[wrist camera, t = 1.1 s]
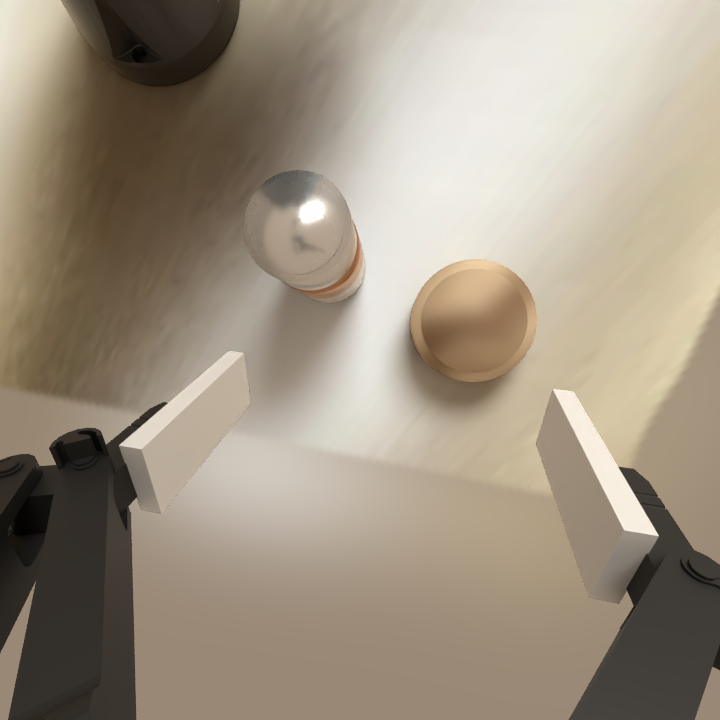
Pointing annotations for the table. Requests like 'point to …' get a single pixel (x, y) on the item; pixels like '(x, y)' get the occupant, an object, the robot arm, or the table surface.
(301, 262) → the can
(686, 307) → the table surface
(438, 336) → the stand
